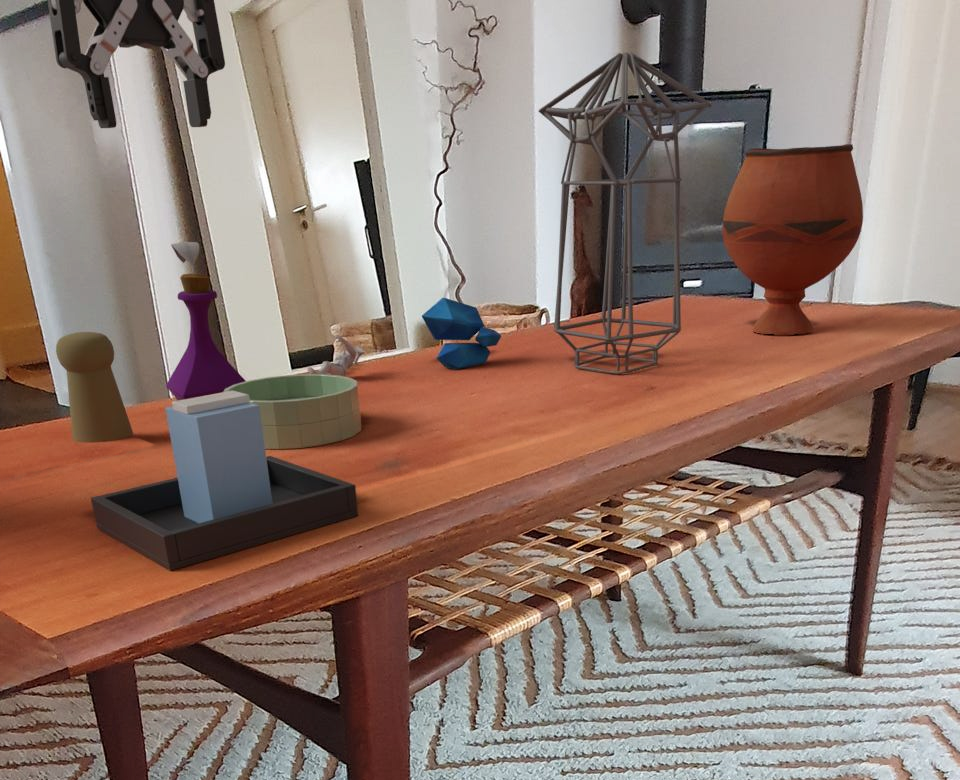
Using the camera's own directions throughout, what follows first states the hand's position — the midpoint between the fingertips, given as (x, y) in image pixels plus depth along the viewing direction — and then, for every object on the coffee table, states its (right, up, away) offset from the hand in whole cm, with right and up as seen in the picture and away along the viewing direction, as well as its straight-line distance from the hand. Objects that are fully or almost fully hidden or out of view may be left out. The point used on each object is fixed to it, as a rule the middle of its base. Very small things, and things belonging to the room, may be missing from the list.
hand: (154, 127), depth 86 cm
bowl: (+10, -25, +12) cm, 30 cm away
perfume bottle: (-1, -20, +23) cm, 31 cm away
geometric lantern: (+47, -10, +40) cm, 62 cm away
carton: (+10, -36, -11) cm, 39 cm away
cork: (-9, -26, +12) cm, 30 cm away
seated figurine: (+10, -13, +37) cm, 40 cm away
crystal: (+26, -9, +44) cm, 52 cm away
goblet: (+74, +1, +60) cm, 96 cm away
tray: (+9, -36, -11) cm, 39 cm away
